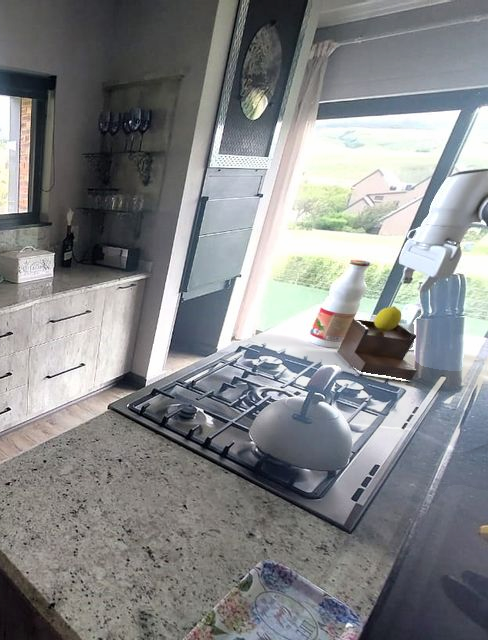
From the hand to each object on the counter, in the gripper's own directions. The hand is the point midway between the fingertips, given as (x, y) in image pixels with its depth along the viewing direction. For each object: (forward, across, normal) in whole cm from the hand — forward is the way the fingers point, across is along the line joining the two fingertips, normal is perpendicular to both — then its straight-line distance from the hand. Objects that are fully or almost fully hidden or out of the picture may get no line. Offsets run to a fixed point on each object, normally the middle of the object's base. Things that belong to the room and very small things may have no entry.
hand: (413, 287), depth 115 cm
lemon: (+14, +1, +2) cm, 15 cm away
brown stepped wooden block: (+24, -3, +2) cm, 25 cm away
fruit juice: (+24, +13, +10) cm, 29 cm away
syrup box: (+25, +20, -14) cm, 35 cm away
